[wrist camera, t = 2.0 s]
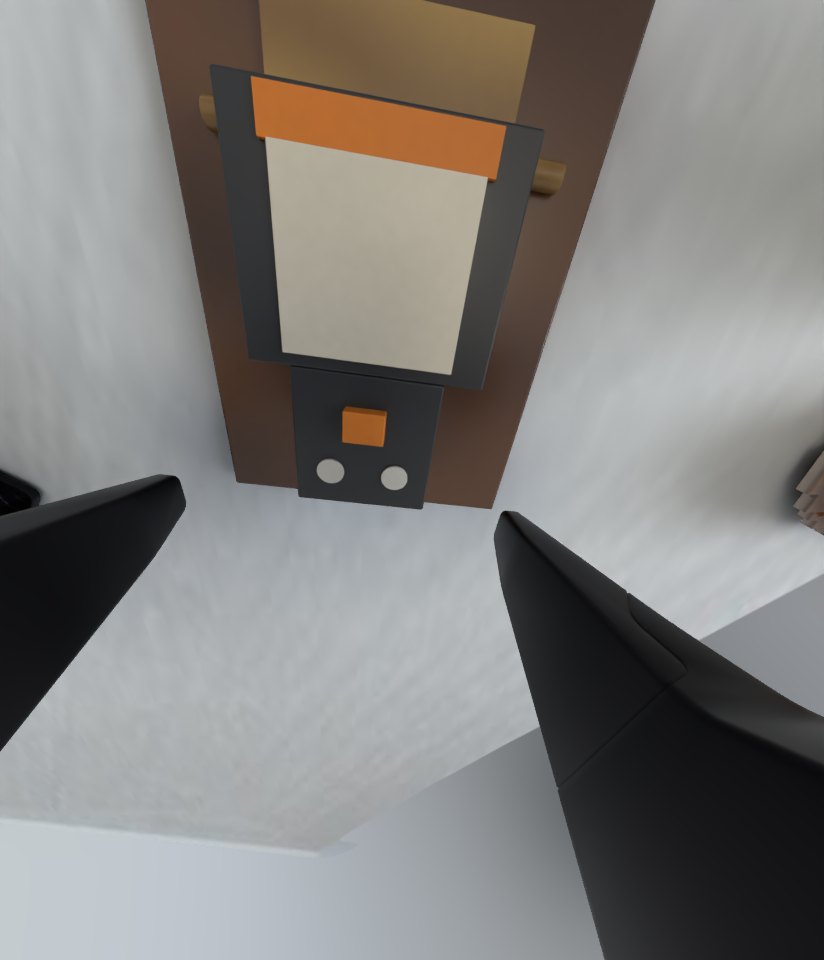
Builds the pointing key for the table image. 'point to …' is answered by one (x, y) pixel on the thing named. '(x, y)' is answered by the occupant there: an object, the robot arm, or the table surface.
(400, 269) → the penguin
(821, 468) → the decorative ornament
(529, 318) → the stand
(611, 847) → the robot arm
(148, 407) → the table surface
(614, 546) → the table surface
